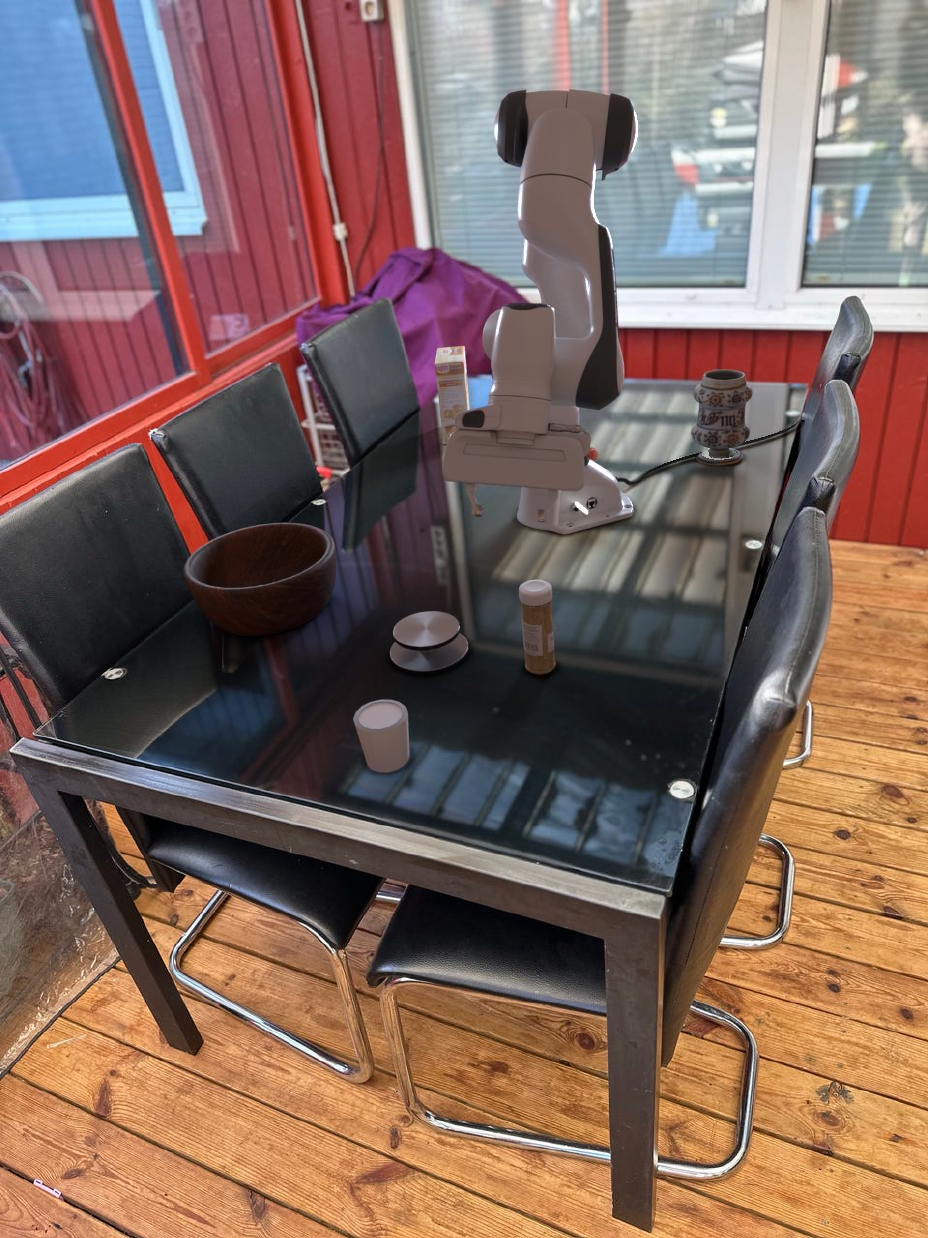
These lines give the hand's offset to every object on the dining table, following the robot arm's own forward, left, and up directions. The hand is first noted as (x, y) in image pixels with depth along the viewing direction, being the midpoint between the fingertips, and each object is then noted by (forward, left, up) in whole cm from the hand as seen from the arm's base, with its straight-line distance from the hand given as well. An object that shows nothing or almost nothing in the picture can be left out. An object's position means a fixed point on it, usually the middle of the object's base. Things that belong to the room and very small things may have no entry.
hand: (509, 519), depth 127 cm
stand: (+14, 0, -20) cm, 24 cm away
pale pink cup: (+23, +23, -20) cm, 38 cm away
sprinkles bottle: (-1, +9, -20) cm, 22 cm away
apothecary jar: (-58, -56, -20) cm, 83 cm away
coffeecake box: (-8, -96, -20) cm, 98 cm away
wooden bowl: (+38, -23, -20) cm, 48 cm away
